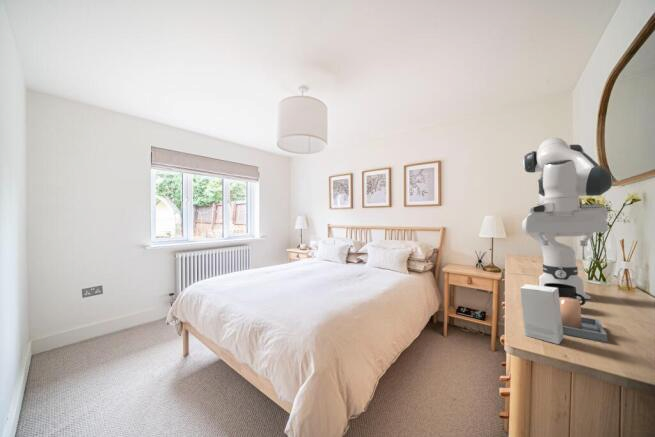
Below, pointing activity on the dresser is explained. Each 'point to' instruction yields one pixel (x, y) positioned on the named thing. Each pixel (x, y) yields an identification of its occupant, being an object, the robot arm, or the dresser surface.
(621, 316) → the dresser surface
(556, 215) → the robot arm
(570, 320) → the pinkish-tan rounded block
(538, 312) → the skincare box
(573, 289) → the mug
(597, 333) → the tray
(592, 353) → the dresser surface
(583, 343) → the dresser surface
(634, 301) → the dresser surface
